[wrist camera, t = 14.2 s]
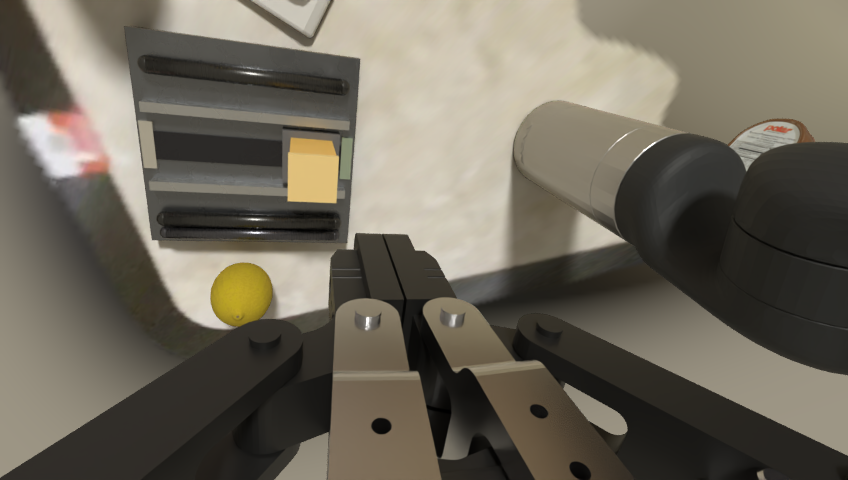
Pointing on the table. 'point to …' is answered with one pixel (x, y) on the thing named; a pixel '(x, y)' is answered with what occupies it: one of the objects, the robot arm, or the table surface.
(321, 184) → the lever
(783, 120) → the tin
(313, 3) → the light switch
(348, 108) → the panel
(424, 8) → the table surface
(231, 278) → the lemon
